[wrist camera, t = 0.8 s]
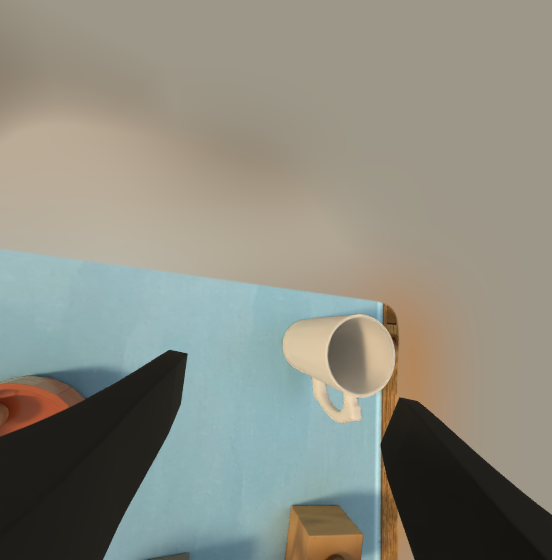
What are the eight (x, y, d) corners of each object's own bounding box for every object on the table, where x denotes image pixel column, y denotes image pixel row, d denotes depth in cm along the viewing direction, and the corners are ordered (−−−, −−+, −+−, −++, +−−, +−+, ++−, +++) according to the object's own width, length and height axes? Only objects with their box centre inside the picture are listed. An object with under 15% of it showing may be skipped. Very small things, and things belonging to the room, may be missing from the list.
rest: (333, 564, 33) (357, 604, 28) (283, 567, 32) (300, 610, 27) (339, 505, 34) (363, 534, 30) (291, 505, 33) (309, 535, 28)
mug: (279, 316, 35) (324, 313, 24) (329, 316, 37) (393, 314, 26) (280, 404, 34) (328, 445, 23) (332, 399, 36) (400, 435, 25)
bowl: (78, 517, 27) (60, 549, 23) (-87, 519, 24) (-138, 555, 20) (112, 382, 29) (101, 391, 26) (-34, 368, 26) (-71, 375, 22)
